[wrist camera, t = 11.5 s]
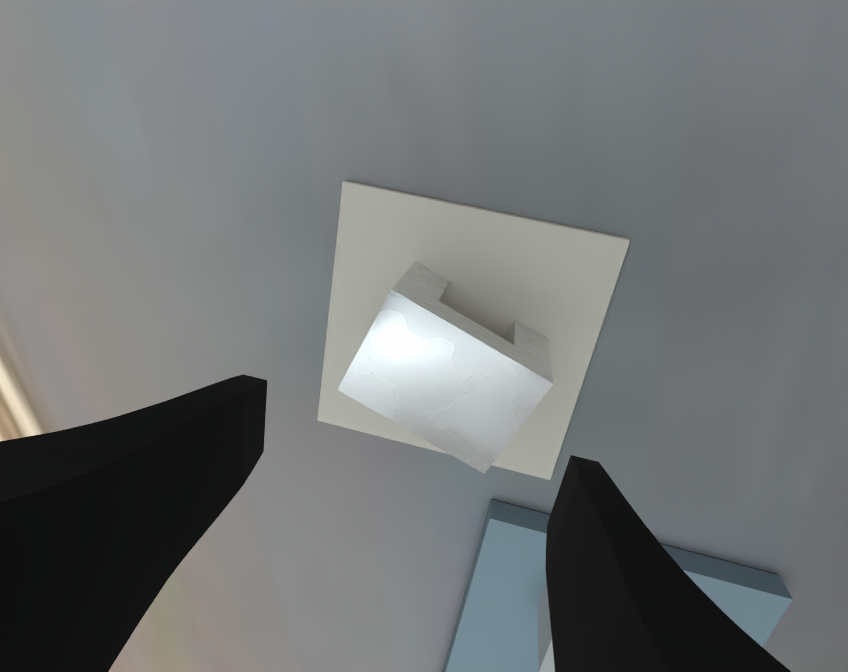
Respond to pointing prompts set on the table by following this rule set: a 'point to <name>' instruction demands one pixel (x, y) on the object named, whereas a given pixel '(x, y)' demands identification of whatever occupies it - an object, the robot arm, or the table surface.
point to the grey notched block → (448, 372)
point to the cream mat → (470, 299)
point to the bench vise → (529, 609)
